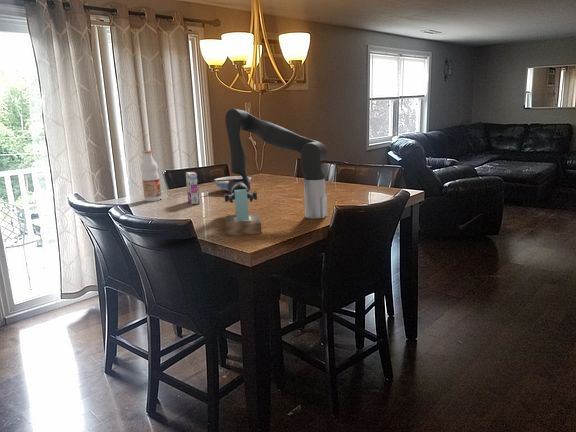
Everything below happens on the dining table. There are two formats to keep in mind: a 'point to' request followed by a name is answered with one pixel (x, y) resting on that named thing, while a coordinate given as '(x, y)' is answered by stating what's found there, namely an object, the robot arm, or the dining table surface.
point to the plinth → (243, 225)
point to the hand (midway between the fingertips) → (241, 199)
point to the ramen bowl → (226, 181)
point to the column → (241, 204)
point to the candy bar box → (192, 188)
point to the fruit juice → (150, 178)
